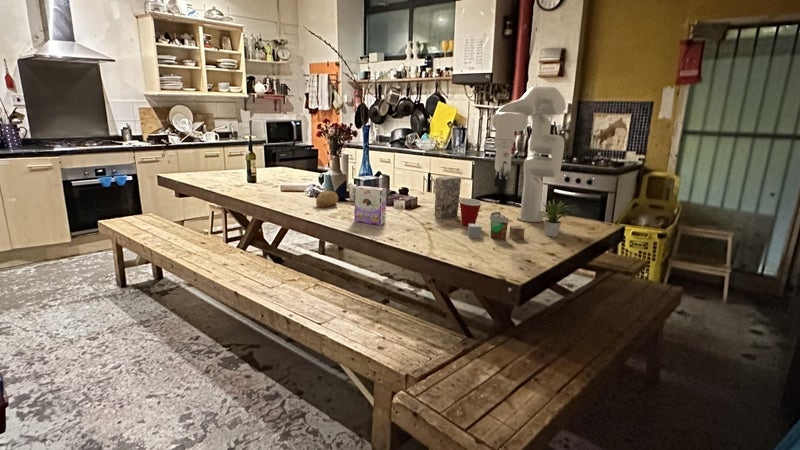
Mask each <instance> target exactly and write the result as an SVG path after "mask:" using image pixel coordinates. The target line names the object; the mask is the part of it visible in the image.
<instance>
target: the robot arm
mask: <svg viewBox="0 0 800 450" xmlns="http://www.w3.org/2000/svg"><path fill="white" fill-rule="evenodd" d="M565 110H566V101H565V97H564V96H563V95H562V93H561V92H560V90H558V88H556V87H554V86H532V87H530V88H528V89H527V90H526V92H524V94H523V95H522V96H521V97H520V98H519V99H517V100H514V101H511V102H508V103H505V104H504V105H502V106H500V107H499V108H498V109H497V111H496V112H495V113H494V114H493V116H492V121H491V122H492V126H493V128H494V129H495V135H494V144H493V145H494V146H493V147H494V148H496V151H495V160H494V170H495V176H494V187H497V189H498V190H506V188H507V179H508V174H509V173H510V172H511V171H512V170H511V169H512V149H513V148H514V145H515V144H514V142H515V132H522V131H524V130H525V129H526V128H527V126H528V124H529V119H528V117H529V116H530V118H531V121H532V127H531V135H530V141H529V150H530V152H531V153H533V154H537V155H538V154H539V155H545V156H535V155H534V156H528V157H526V158H525V159H524V161H523V165H522V166H523V167H522V168H523V186H522V196H521V203H520V214H518V215H516V219H517V220H518V221H520V222H521V221H522V222H524V223H525V222H526V223H541V222H543V219H544V218H547V217H548V216H547V215H548V214H547V213H548V212H545V213H546V214H547V215H546V214H544V213H542V212H540V211H542V209H541V208H542V203H543V202H542V200H543V192H544V183H543V181H542V180H541V178H548V179H557V178H558V177H559V175H560V173H561V169H562V164H563V157H564V150H565V138H564V137H563V136H561V135H558V134H551V129H552V128H551V127H552V123H551V121H550V119H549V117H548V115H549V116H559V115H562V114H563V112H564V111H565ZM546 155H549V156H551V157H546Z"/></svg>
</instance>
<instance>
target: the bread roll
mask: <svg viewBox="0 0 800 450" xmlns="http://www.w3.org/2000/svg"><path fill="white" fill-rule="evenodd" d="M338 195H339V194H337V192H336V191H332V190H324V191H321V192H320V193H319V194H318V195H317V196H316V200H315V204H316V206H317V207H319V208H327V207H330V206H333V205H335V204H337V203H338V201H339V196H338Z"/></svg>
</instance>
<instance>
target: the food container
mask: <svg viewBox="0 0 800 450" xmlns="http://www.w3.org/2000/svg"><path fill="white" fill-rule="evenodd" d="M489 220H490V238H491V239H493V240H497V241H506V239H507V234H508V233H507V232H508V226H509V223H510V222H509V221H510V219H509V217H505V215H502V214H501V211H493V212H491V213H490V215H489Z"/></svg>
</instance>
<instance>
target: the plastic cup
mask: <svg viewBox="0 0 800 450" xmlns="http://www.w3.org/2000/svg"><path fill="white" fill-rule="evenodd" d="M482 205H483V202H482V201H481V200H479V199H475V198H469V197H468V198H459V206H460V218H461V224H462V226H463V227H464V228H468V224H477V219H478V215H479V211H480V208H481V206H482Z"/></svg>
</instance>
